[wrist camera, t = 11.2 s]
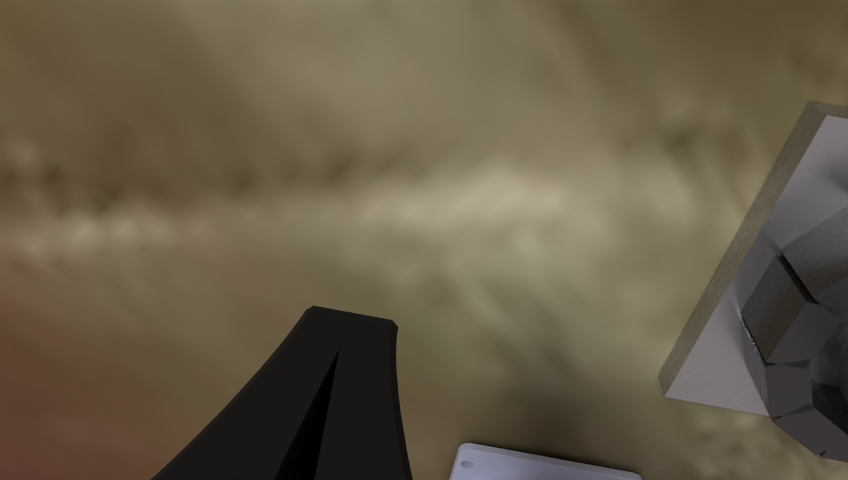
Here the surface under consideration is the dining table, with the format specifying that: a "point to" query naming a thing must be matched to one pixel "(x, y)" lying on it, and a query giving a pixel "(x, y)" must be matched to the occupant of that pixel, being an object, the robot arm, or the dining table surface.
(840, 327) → the dark grey round knob
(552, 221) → the dining table surface
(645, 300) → the dining table surface
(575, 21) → the dining table surface
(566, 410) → the dining table surface
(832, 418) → the barrel stand
